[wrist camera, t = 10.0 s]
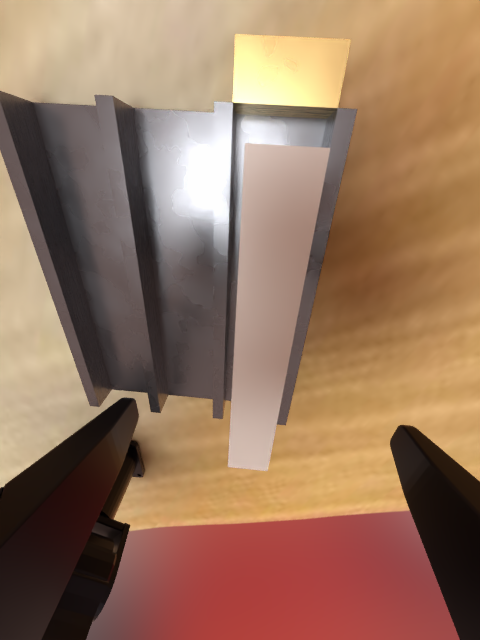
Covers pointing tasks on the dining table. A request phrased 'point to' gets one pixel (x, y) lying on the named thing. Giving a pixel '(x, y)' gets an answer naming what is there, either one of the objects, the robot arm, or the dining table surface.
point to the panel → (270, 287)
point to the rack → (169, 216)
